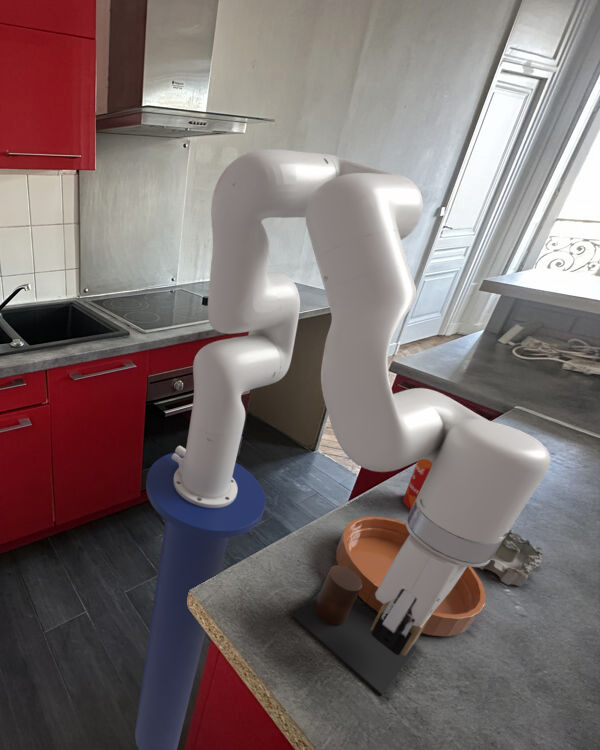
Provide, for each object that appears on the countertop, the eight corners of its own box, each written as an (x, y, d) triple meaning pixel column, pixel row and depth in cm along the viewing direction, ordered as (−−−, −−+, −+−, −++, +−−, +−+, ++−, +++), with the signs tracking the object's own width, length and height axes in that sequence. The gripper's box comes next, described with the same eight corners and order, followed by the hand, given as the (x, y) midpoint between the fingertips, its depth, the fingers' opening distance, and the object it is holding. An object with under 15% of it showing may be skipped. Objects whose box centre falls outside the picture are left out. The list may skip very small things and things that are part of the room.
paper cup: (405, 487, 85) (432, 431, 79) (450, 509, 80) (482, 451, 74) (390, 502, 81) (416, 444, 75) (435, 527, 76) (468, 467, 70)
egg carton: (516, 593, 64) (530, 575, 62) (460, 557, 70) (470, 540, 68) (540, 564, 69) (553, 547, 67) (486, 533, 75) (496, 516, 73)
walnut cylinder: (309, 608, 60) (323, 573, 57) (324, 594, 62) (338, 560, 59) (336, 631, 57) (353, 596, 54) (350, 616, 59) (367, 581, 56)
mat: (292, 617, 59) (293, 615, 59) (329, 583, 65) (329, 581, 64) (381, 696, 51) (382, 694, 50) (415, 649, 56) (416, 647, 56)
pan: (313, 566, 67) (321, 546, 65) (366, 520, 77) (374, 502, 75) (444, 665, 54) (459, 645, 52) (489, 595, 64) (502, 575, 62)
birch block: (370, 629, 53) (384, 601, 51) (384, 612, 55) (398, 585, 53) (404, 656, 50) (421, 628, 48) (417, 638, 52) (434, 610, 50)
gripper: (440, 481, 52) (390, 579, 60) (379, 539, 43) (330, 645, 51) (518, 518, 46) (452, 621, 54) (466, 594, 37) (396, 703, 45)
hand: (394, 632), depth 53 cm, fingers closed on birch block, 4 cm apart
